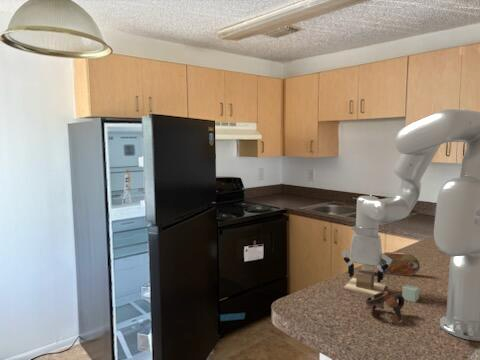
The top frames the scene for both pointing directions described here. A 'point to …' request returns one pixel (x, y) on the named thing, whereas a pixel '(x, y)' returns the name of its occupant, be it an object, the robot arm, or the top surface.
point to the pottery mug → (391, 302)
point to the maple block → (367, 267)
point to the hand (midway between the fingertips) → (365, 278)
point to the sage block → (410, 292)
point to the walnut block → (365, 279)
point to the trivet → (352, 287)
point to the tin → (401, 264)
